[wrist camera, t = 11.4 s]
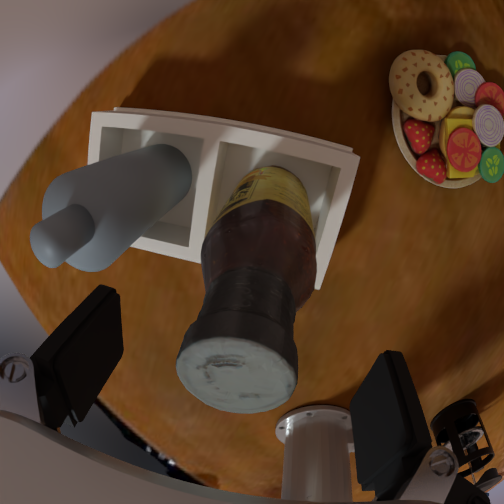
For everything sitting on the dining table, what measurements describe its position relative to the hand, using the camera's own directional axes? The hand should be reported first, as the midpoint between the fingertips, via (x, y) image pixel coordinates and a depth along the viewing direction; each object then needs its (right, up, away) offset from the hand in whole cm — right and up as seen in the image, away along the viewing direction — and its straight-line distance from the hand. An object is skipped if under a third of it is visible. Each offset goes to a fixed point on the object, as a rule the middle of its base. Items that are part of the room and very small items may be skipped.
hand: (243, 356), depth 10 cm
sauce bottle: (+2, +8, +17) cm, 19 cm away
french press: (+36, -26, +30) cm, 54 cm away
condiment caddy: (-3, +10, +18) cm, 20 cm away
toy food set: (+19, +16, +13) cm, 28 cm away
